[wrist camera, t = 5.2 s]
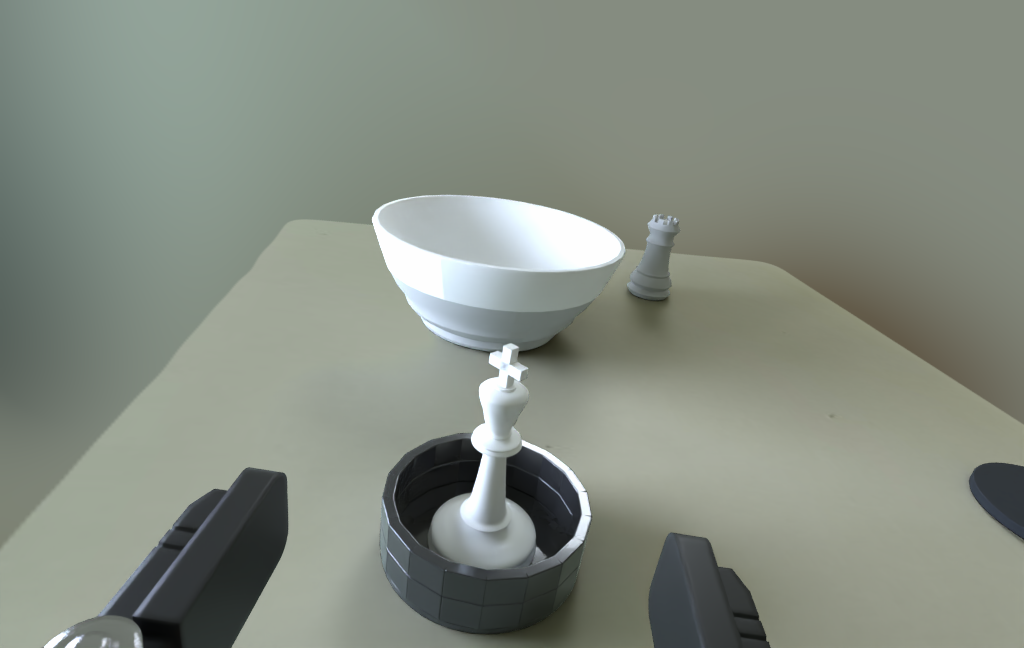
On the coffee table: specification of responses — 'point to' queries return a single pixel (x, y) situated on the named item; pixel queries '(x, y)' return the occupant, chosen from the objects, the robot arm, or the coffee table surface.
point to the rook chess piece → (655, 260)
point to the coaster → (1001, 493)
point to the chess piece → (490, 483)
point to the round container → (470, 590)
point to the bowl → (494, 266)
